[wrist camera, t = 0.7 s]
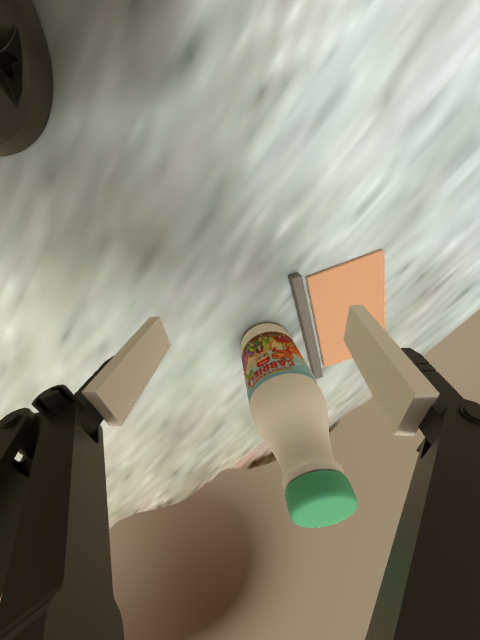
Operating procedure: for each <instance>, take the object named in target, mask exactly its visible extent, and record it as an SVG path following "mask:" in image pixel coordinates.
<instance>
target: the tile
mask: <svg viewBox="0 0 480 640" xmlns="http://www.w3.org/2000/svg"><path fill="white" fill-rule="evenodd" d="M306 282H307V287H308V292H309V297H310V302H311V307H312V312H313V317H314V322H315V327H316V331H317V336H318V341H319V346H320V351H321V356H322V361H323V365H324V366H325V367H326V366H329V365H332V364H335V363H338V362H342V361H345V360H348V359H351V358H353V357H352V355H351V353H350V351H349V349H348V348H347V346H346V344H345V342H344V340H343V339H344V333H345V328H346V323H347V317H348V312H349V306H351V305H363V306H364V307H365V308H366V309H367V310H368V312H369V313H370V314H371V315H372V316H373V317H374V319H375V320H376V321H377V322H378V323H379V324H380V325H381V327H382V328H383V329H384V330H385V290H384V250H378V251H375V252H373V253H370V254H367V255H364V256H362V257H359V258H356V259H354V260H351V261H348V262H345V263H343V264H340V265H337V266H335V267H332V268H329V269H326V270H324V271H321V272H318V273H316V274H313V275H310V276H307V277H306Z"/></svg>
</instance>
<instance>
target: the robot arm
mask: <svg viewBox="0 0 480 640" xmlns="http://www.w3.org/2000/svg"><path fill="white" fill-rule="evenodd" d="M51 99H52V74H51V65H50V59H49V54H48V49H47V45H46V41H45V37H44V34H43V30H42V27H41V24H40V22H39V19H38V16H37V13H36V11H35V8H34V6H33V3H32V1H31V0H0V156H6V155H11V154H14V153H17V152H19V151H21V150H23V149H25V148H27V147H28V146H29V145H31V144H32V143H33V142H34V141H35V140H36V138H37V137H38V136H39V135H40V133H41V132H42V130H43V128H44V126H45V124H46V121H47V118H48V115H49V111H50V107H51ZM343 340H344V342H345V344H346V346H347V348H348V349H349V351H350V353H351V355H352V357H353V359H354V361H355V363H356V365H357V366H358V368H359V370H360V372H361V374H362V376H363V378H364V380H365V381H366V383H367V385H368V387H369V389H370V391H371V393H372V395H373V396H374V398H375V400H376V402H377V404H378V406H379V407H380V409H381V411H382V413H383V415H384V417H385V419H386V420H387V423H388V424H389V426H390V428H391V430H392V432H393V434H394V435H405V436H414V435H415V433H416V432H417V430H418V429H419V428H420V430H421V431H422V433H423V435H424V436H425V439H424V440H423V441H422V443H421V444H420V446H419V447H418V449H417V451H418V452H419V456H418V459H417V463H416V466H415V469H414V473H413V476H412V480H411V483H410V487H409V490H408V494H407V497H406V500H405V504H404V507H403V511H402V514H401V518H400V521H399V524H398V528H397V531H396V535H395V539H394V542H393V545H392V549H391V552H390V556H389V559H388V563H387V566H386V569H385V573H384V576H383V580H382V583H381V587H380V590H379V594H378V597H377V601H376V604H375V607H374V611H373V614H372V618H371V622H370V625H369V628H368V632H367V635H366V638H365V640H480V405H479V404H478V403H476V402H472V401H469V400H466V399H463V398H462V397H461V396H460V395H459V394H458V392H457V391H456V390H455V389H454V388H453V387H452V386H451V385H450V384H449V383H448V382H447V381H446V380H445V379H444V378H443V377H442V376H441V375H440V374H439V373H438V372H436V370H435V369H434V368H433V367H432V365H429V362H428V361H427V360H426V359H424V357H423V356H422V355H421V354H419V353H417V352H416V351H414V350H413V349H411V348H400V347H399V346H398V345H397V344H396V343H395V342H394V340H393V339H392V338H391V337H390V336H389V335H388V333H387V332H386V331H385V330H384V329H383V328H382V327H381V325H380V324H379V323H378V322H377V321H376V320H375V319H374V317H373V316H372V315H371V314H370V313H369V312H368V310H367V309H366V308H365V307H364V306H363V305H351V306H349V312H348V317H347V323H346V328H345V333H344V339H343ZM170 346H171V345H170V342H169V340H168V337H167V335H166V332H165V330H164V327H163V325H162V322H161V320H160V317H150V318H149V319H148V320H147V321H146V322H145V323H144V324H143V325H142V326H141V327H140V329H139V330H138V331H137V332H136V333H135V334H134V335H133V336H132V337H131V338H130V339H129V341H128V342H127V343H126V344H125V345H124V346H123V347H122V348H121V349H120V350H119V351H118V353H117V354H116V355H115V356H113V357H111V358H110V359H108V360H107V361H106V362H104V363H103V364H102V366H101V367H100V368H99V369H98V370H97V371H96V372H95V373H94V374H93V376H91V377H90V378H89V379H88V380H87V381H86V383H85V384H84V385H83V386H82V387H81V388H80V389H79V390H78V391H77V392H76V393H75V394H74V395H73V393H72V392H71V391H70V390H69V389H68V388H67V387H66V386H65V385H57V386H54V387H51V388H49V389H47V390H45V391H44V392H42V393H41V394H40V395H38V396H37V397H36V398H35V399H34V401H33V403H32V405H33V406H34V407H35V408H36V409H37V410H38V411H39V412H38V413H35V414H34V413H33V412H32V411H31V410H30V409H28V408H22V409H18V410H16V411H14V412H11V413H10V414H8V415H6V416H5V417H4V418H3V419H1V420H0V597H1V595H2V597H1V601H0V640H124V631H123V624H122V618H121V614H120V610H119V608H118V606H117V604H116V602H115V599H114V596H113V588H112V571H111V557H110V541H109V524H108V509H107V493H106V477H105V462H104V446H103V430H102V427H101V425H100V424H101V422H102V421H103V419H104V420H105V421H106V422H107V423H108V425H111V426H122V425H123V423H124V421H125V420H126V418H127V417H128V415H129V413H130V412H131V410H132V408H133V407H134V405H135V403H136V402H137V400H138V399H139V397H140V395H141V394H142V392H143V390H144V389H145V387H146V385H147V384H148V382H149V381H150V379H151V377H152V376H153V374H154V372H155V371H156V369H157V367H158V366H159V364H160V362H161V361H162V359H163V358H164V356H165V354H166V353H167V351H168V349H169V348H170ZM18 452H19V453H20V454H22V455H23V457H22V459H21V461H20V462H18V461H16V460H15V459H14V458H15V456H16V454H17V453H18Z"/></svg>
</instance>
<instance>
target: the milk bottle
mask: <svg viewBox="0 0 480 640" xmlns="http://www.w3.org/2000/svg"><path fill="white" fill-rule="evenodd" d="M241 356H242V363H243V369H244V375H245V382H246V388H247V394H248V399H249V404H250V409H251V413H252V417H253V420H254V423H255V425H256V427H257V429H258V431H259V433H260V435H261V436H262V438H263V439H264V441H265V442H266V443H267V445H268V446H269V447H270V449H271V450H272V452H273V453H274V455H275V457H276V459H277V461H278V463H279V465H280V467H281V469H282V472H283V474H284V479H283V482H282V485H283V487H284V489H285V497H286V502H287V507H288V510H289V514H290V516H291V519H292V521H293V522H294V523H295V524H297V525H299V526H302V527H308V528H317V527H324V526H329V525H332V524H335V523H338V522H340V521H343V520H344V519H346V518H348V517H349V516H351V515H352V514H353V513H354V512H355V511H356V509H357V506H358V502H357V498H356V495H355V493H354V491H353V489H352V487H351V485H350V483H349V481H348V479H347V478H346V477H345V475H344V473H343V469H342V467H341V466H340V465H339V464H337V463H336V461H335V459H334V457H333V454H332V450H331V445H330V439H329V427H328V412H327V407H326V403H325V400H324V397H323V395H322V392H321V390H320V388H319V386H318V384H317V382H316V380H315V378H314V376H313V375H312V373H311V371H310V369H309V368H308V366H307V364H306V362H305V361H304V359H303V357H302V355H301V354H300V352H299V350H298V349H297V347H296V345H295V344H294V342H293V340H292V338H291V337H290V335H289V334H288V332H287V331H286V330H285V329H284V328H283V327H281V326H279V325H276V324H272V323H264V324H260V325H257V326H255V327H253V328H251V329H250V330H249V331H248V332H247V333H246V334H245V335H244V337H243V339H242V341H241Z"/></svg>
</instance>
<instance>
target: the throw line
mask: <svg viewBox="0 0 480 640" xmlns="http://www.w3.org/2000/svg"><path fill="white" fill-rule="evenodd" d="M289 280H290V284H291V288H292V292H293V296H294V300H295V304H296V308H297V312H298V317H299V321H300V325H301V329H302V333H303V337H304V341H305V345H306V349H307V353H308V358H309V362H310V366H311V370H312V373H313V375H314V377H315V378H316V379H317V378H320V377H323V375H322V370H321V365H320V360H319V356H318V351H317V346H316V341H315V337H314V332H313V327H312V323H311V318H310V313H309V308H308V304H307V299H306V294H305V289H304V285H303V280H302V276H301V275H300V274H299V273H295V274H292V275H290V276H289Z"/></svg>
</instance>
